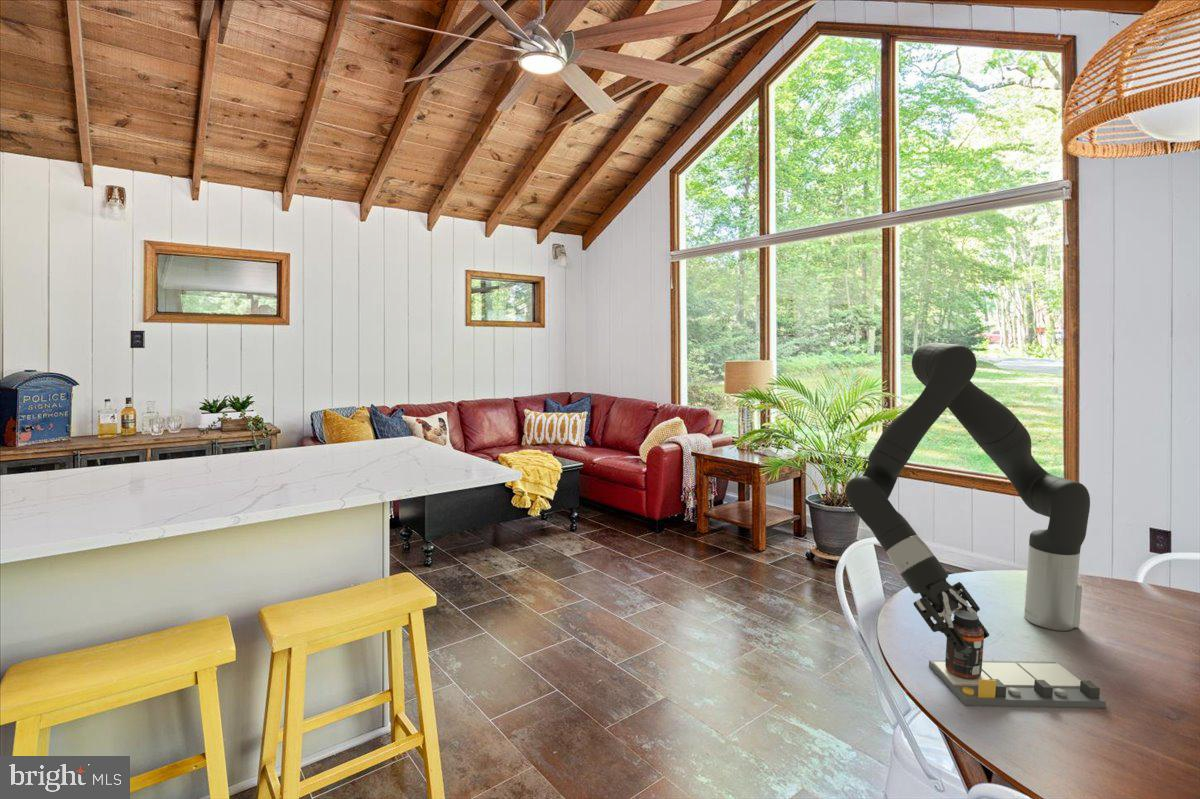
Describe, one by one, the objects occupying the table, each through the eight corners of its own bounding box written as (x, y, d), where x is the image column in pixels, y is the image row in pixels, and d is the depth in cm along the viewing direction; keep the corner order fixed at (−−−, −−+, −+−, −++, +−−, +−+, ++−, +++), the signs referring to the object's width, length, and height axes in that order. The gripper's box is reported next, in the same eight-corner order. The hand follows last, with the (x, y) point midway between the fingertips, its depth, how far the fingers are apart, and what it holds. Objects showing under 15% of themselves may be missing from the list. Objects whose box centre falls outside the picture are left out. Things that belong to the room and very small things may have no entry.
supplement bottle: (986, 682, 112) (990, 623, 111) (951, 678, 113) (954, 620, 112) (974, 665, 118) (977, 609, 117) (940, 661, 119) (943, 606, 118)
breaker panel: (1054, 667, 120) (1055, 646, 119) (1105, 707, 107) (1107, 684, 106) (928, 665, 121) (929, 644, 120) (965, 705, 108) (966, 681, 107)
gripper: (909, 562, 116) (970, 647, 107) (949, 547, 123) (1009, 625, 115) (882, 580, 121) (938, 662, 112) (922, 564, 128) (978, 640, 120)
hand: (974, 643), depth 113 cm, fingers open, 7 cm apart
